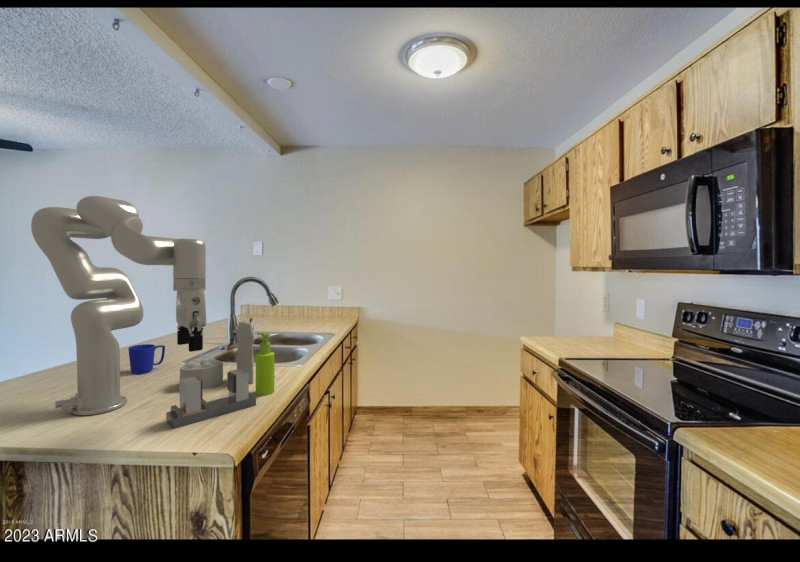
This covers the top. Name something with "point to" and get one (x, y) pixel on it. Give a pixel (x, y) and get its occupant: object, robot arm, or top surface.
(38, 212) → the robot arm
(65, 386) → the top surface
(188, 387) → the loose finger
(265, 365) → the soap dispenser
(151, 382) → the top surface
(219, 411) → the rail
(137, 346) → the mug
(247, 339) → the grey tall slab
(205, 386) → the lumpy-topped squat cylinder
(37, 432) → the top surface
